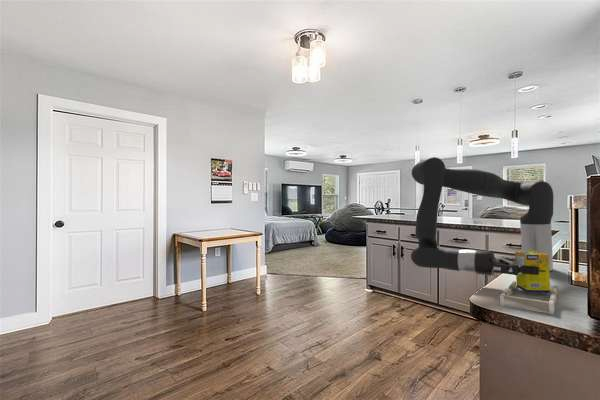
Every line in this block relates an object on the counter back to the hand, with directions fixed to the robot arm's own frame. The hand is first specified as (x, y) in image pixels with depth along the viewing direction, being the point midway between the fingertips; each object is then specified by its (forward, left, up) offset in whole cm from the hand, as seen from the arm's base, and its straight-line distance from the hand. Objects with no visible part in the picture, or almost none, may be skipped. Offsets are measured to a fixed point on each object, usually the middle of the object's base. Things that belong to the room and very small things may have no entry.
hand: (540, 268), depth 86 cm
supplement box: (0, -2, -7) cm, 7 cm away
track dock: (+6, -2, -7) cm, 10 cm away
